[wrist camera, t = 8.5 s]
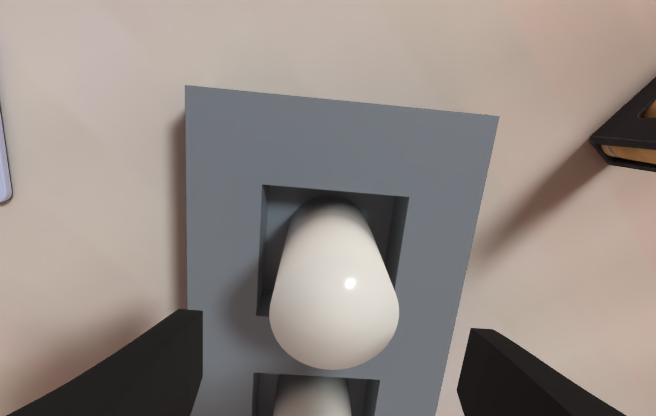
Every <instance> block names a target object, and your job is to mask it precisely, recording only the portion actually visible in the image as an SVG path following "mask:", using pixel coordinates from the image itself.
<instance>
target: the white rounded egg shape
mask: <svg viewBox="0 0 656 416" xmlns="http://www.w3.org/2000/svg"><path fill="white" fill-rule="evenodd" d="M269 318H270V325H271V329H272V331H273V334H274V336H275V338H276V340H277V342H278V343H279V344H280V346H281V347H282V348H283V349H284V350H285V351H286V352H287V353H288V354H289V355H290V356H292V357H293V358H294V359H296V360H298V361H299V362H301V363H303V364H306V365H308V366H311V367H314V368H319V369H327V370H340V369H347V368H351V367H355V366H358V365H360V364H363V363H365V362H367V361H369V360H370V359H372V358H373V357H375V356H376V355H378V354H379V353H380V352H381V351H382V350H383V349H384V348H385V347H386V346H387V345H388V343H389V342H390V340H391V339H392V337H393V335H394V333H395V331H396V328H397V325H398V320H399V304H398V299H397V296H396V293H395V291H394V288H393V285H392V283H391V280H390V278H389V275H388V273H387V270H386V268H385V265H384V262H383V260H382V257H381V255H380V252H379V250H378V247H377V245H376V242H375V240H374V237H373V234H372V232H371V229H370V227H369V224H368V222H367V219H366V217H365V215H364V214H363V212H362V211H361V210H360V208H359V207H358V206H356V205H355V204H354V203H353V202H351V201H349V200H347V199H345V198H342V197H338V196H331V195H329V196H320V197H316V198H313V199H311V200H309V201H307V202H305V203H304V204H303V205H301V206H300V207H299V208H298V209H297V210H296V212H295V213H294V215H293V216H292V218H291V221H290V223H289V227H288V232H287V236H286V240H285V244H284V249H283V253H282V257H281V261H280V265H279V270H278V274H277V278H276V282H275V287H274V291H273V295H272V299H271V303H270V310H269Z"/></svg>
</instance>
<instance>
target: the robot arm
mask: <svg viewBox="0 0 656 416" xmlns="http://www.w3.org/2000/svg"><path fill="white" fill-rule="evenodd" d="M11 195H12V190H11V183H10V176H9V169H8V162H7V155H6V148H5V141H4V134H3V127H2V120H1V113H0V202H3V201H6V200H8V199H10V197H11ZM202 377H203V311H201V310H186V309H179V310H177V311H175V312H174V313H172V314H171V315H169V316H168V317H167V318H165V319H164V320H162V321H161V322H159V323H158V324H157V325H155V326H154V327H152V328H151V329H150V330H148V331H147V332H145V333H144V334H142V335H141V336H139V337H138V338H137V339H135V340H134V341H132V342H131V343H129V344H128V345H126V346H125V347H123V348H122V349H120V350H119V351H118V352H116V353H115V354H113V355H111V356H110V357H108V358H107V359H105V360H103V361H102V362H100V363H99V364H97V365H95V366H94V367H92V368H91V369H89V370H87V371H86V372H84V373H83V374H81V375H79V376H78V377H76V378H75V379H73V380H71V381H70V382H68V383H66V384H64V385H63V386H61V387H59V388H57V389H56V390H54V391H52V392H50V393H49V394H47V395H45V396H43V397H41V398H39V399H37V400H35V401H34V402H32V403H30V404H28V405H26V406H24V407H22V408H20V409H18V410H17V411H15V412H13V413H11V414H9V415H7V416H190V415H191V412H192V409H193V406H194V403H195V400H196V397H197V393H198V390H199V387H200V384H201V380H202ZM457 393H458V396H459V399H460V403H461V406H462V409H463V412H464V415H465V416H626V415H624V414H623V413H621V412H619V411H618V410H616V409H615V408H613V407H611V406H610V405H608V404H607V403H605V402H603V401H602V400H600V399H598V398H597V397H595V396H594V395H592V394H590V393H589V392H587V391H586V390H584V389H583V388H581V387H580V386H578V385H577V384H575V383H574V382H572V381H571V380H569V379H568V378H566V377H564V376H563V375H562V374H560V373H559V372H557V371H556V370H554V369H553V368H551V367H550V366H548V365H547V364H545V363H544V362H542V361H541V360H539V359H538V358H536V357H535V356H534V355H532V354H531V353H529V352H528V351H526V350H525V349H523V348H522V347H520V346H519V345H517V344H516V343H514V342H513V341H511V340H510V339H508V338H506V337H505V336H503V335H502V334H500V333H498V332H496V331H495V330H493V329H477V328H471V330H470V334H469V339H468V343H467V347H466V352H465V356H464V361H463V365H462V369H461V374H460V378H459V382H458V387H457Z"/></svg>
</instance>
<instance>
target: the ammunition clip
mask: <svg viewBox="0 0 656 416" xmlns="http://www.w3.org/2000/svg"><path fill="white" fill-rule="evenodd" d="M590 142H591V143H592V144H593V145H594V147H595V148H596V149H597V150H598V151H599V153H600V154H601V155H602V156H603V157H604V159H605V160H606V161H607V162H608V164H609V165H614V166H620V167H626V168H633V169H639V170H646V171H652V172H656V77H655V78H654V79H653V80H652V81H651V82H650V83H649V84H648V85H647V86H645V87H644V88H643V89H642V90H641V91H640V92H639V93H638V94H637V95H635V96H634V97H633V98H632V99H631V100H630V101H629V102H628V103H627V104H626V105H624V106H623V107H622V108H621V109H620V110H619V111H618V112H617V113H616V114H614V115H613V116H612V117H611V118H610V119H609V120H608V121H607V122H606V123H604V124H603V125H602V126H601V127H600V128H599V129H598V130H597V131H596V132H595V133H593V134H592V135H591V136H590Z"/></svg>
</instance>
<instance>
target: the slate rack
mask: <svg viewBox="0 0 656 416" xmlns="http://www.w3.org/2000/svg"><path fill="white" fill-rule="evenodd" d="M498 121H499V116H491V115H481V114H471V113H461V112H451V111H441V110H431V109H421V108H410V107H400V106H390V105H380V104H370V103H360V102H350V101H339V100H329V99H319V98H309V97H299V96H289V95H279V94H268V93H258V92H248V91H238V90H228V89H218V88H208V87H198V86H187V85H185V137H186V226H187V310H201V311H203V377H202V380H201V384H200V387H199V390H198V393H197V397H196V400H195V403H194V406H193V409H192V412H191V415H190V416H435V414H436V409H437V405H438V400H439V395H440V391H441V386H442V381H443V377H444V372H445V367H446V363H447V358H448V353H449V349H450V344H451V339H452V335H453V330H454V325H455V321H456V316H457V311H458V307H459V302H460V298H461V293H462V288H463V284H464V279H465V274H466V270H467V265H468V260H469V256H470V251H471V246H472V242H473V237H474V232H475V228H476V223H477V218H478V214H479V209H480V205H481V200H482V195H483V191H484V186H485V181H486V177H487V172H488V167H489V163H490V158H491V153H492V149H493V144H494V139H495V135H496V130H497V125H498ZM329 195H331V196H338V197H342V198H345V199H347V200H349V201H351V202H353V203H354V204H355V205H356V206H358V207H359V208H360V210H361V211H362V212H363V214H364V215H365V217H366V219H367V222H368V224H369V227H370V229H371V232H372V234H373V237H374V240H375V242H376V245H377V247H378V250H379V252H380V255H381V257H382V260H383V262H384V265H385V268H386V270H387V273H388V275H389V278H390V280H391V283H392V285H393V288H394V291H395V293H396V296H397V299H398V304H399V320H398V325H397V328H396V331H395V333H394V335H393V337H392V339H391V340H390V342H389V343H388V345H387V346H386V347H385V348H384V349H383V350H382V351H381V352H380V353H379V354H378V355H376V356H375V357H373V358H372V359H370V360H369V361H367V362H365V363H363V364H360V365H358V366H355V367H351V368H347V369H340V370H327V369H319V368H314V367H311V366H308V365H306V364H303V363H301V362H299V361H298V360H296V359H294V358H293V357H292V356H290V355H289V354H288V353H287V352H286V351H285V350H284V349H283V348H282V347H281V346H280V344H279V343H278V342H277V340H276V338H275V336H274V334H273V331H272V329H271V325H270V318H269V310H270V303H271V299H272V295H273V291H274V287H275V282H276V278H277V274H278V270H279V265H280V261H281V257H282V253H283V249H284V244H285V240H286V236H287V232H288V227H289V223H290V221H291V218H292V216H293V215H294V213H295V212H296V210H297V209H298V208H299V207H300V206H301V205H303V204H304V203H305V202H307V201H309V200H311V199H313V198H316V197H320V196H329Z"/></svg>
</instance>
